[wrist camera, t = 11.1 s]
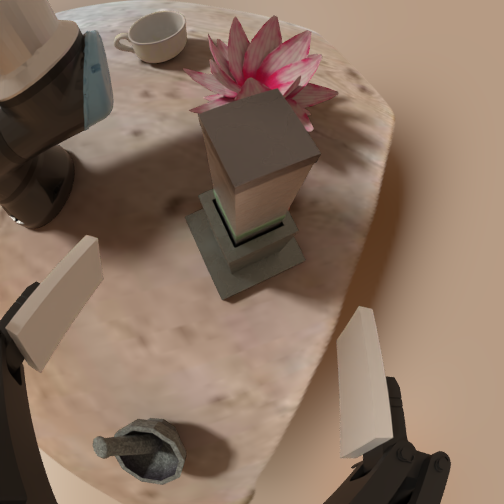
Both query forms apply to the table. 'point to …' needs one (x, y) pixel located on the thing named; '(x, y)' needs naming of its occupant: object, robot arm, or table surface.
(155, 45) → the teacup
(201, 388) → the table surface
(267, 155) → the steel post
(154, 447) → the mortar and pestle
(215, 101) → the decorative flower
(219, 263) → the sleeve
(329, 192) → the table surface
